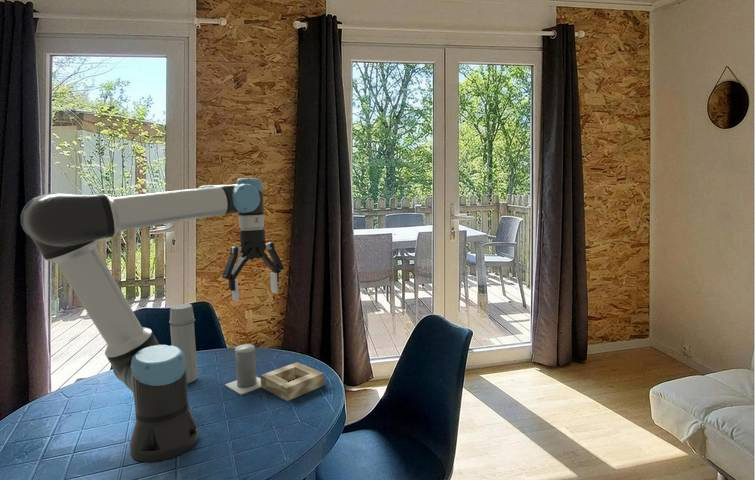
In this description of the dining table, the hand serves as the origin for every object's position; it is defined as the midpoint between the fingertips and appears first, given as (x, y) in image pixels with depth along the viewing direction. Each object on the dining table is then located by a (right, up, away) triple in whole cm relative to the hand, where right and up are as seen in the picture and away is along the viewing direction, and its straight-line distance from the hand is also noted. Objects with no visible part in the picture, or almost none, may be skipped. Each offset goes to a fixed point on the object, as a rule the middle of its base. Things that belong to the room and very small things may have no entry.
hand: (255, 296), depth 138 cm
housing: (+11, -29, +1) cm, 31 cm away
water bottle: (-25, -29, +8) cm, 39 cm away
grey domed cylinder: (-4, -28, +3) cm, 29 cm away
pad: (-4, -29, +3) cm, 29 cm away
